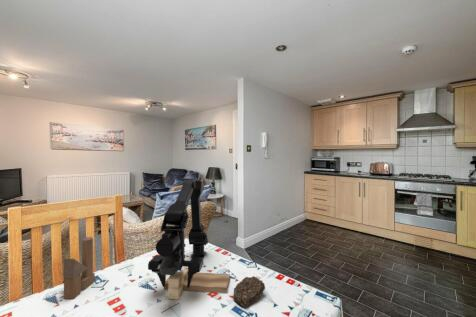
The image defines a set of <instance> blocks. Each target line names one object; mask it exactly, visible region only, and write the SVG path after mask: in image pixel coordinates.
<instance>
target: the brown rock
mask: <svg viewBox="0 0 476 317" xmlns="http://www.w3.org/2000/svg"><path fill="white" fill-rule="evenodd" d="M265 290H266V285H265V283H264V282H263V280H261V279H259V278H258V277H256V276H254V275H253V276H251V277H249V276H245V277H244V278H242V279H241V281H239V282H238V283H237V284H236V285H235V287H234V288H233V301H234V302H235V303H236V304H238V305H240V307H243V308H246V307H249V306H251V304H253V303H254V302H257V301H258V300H260V298H261V296H262V294H263V293H264V291H265Z"/></svg>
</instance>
